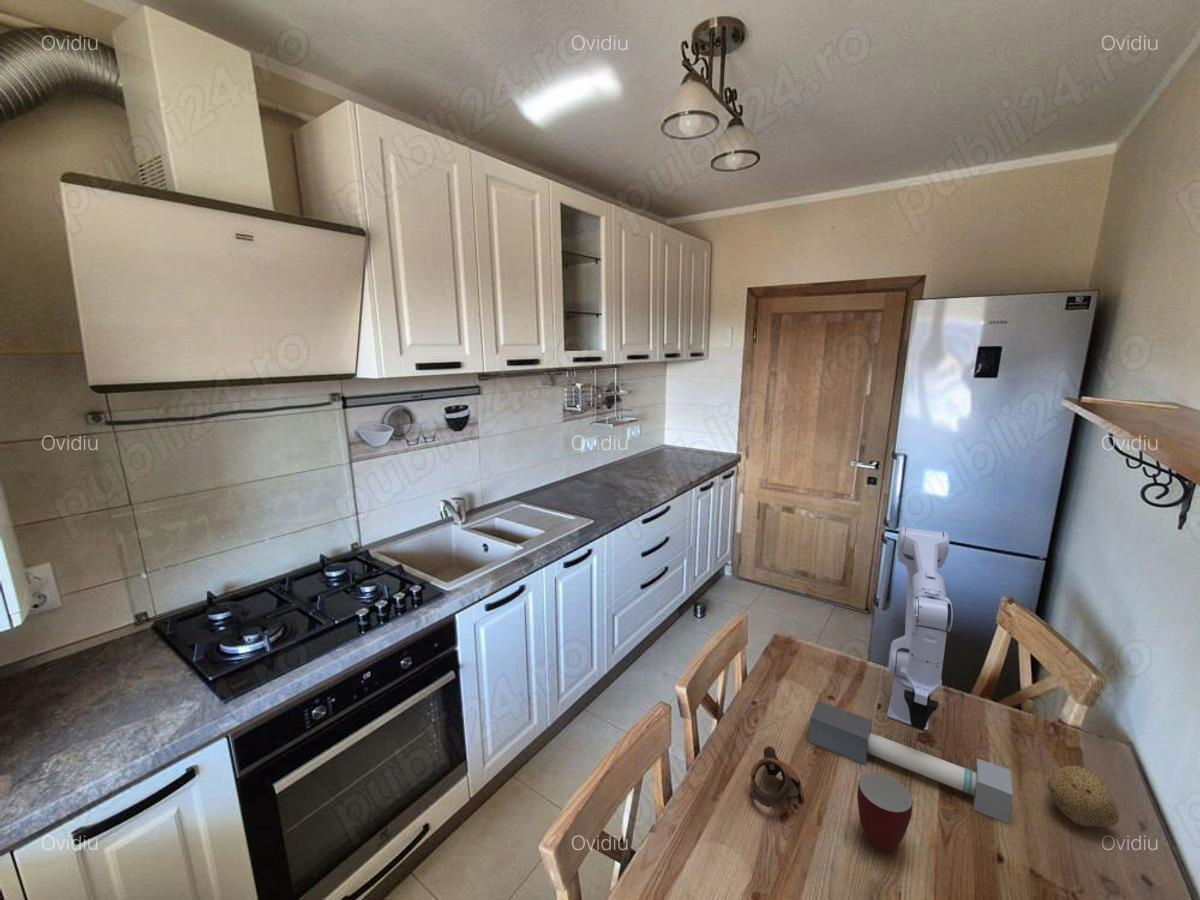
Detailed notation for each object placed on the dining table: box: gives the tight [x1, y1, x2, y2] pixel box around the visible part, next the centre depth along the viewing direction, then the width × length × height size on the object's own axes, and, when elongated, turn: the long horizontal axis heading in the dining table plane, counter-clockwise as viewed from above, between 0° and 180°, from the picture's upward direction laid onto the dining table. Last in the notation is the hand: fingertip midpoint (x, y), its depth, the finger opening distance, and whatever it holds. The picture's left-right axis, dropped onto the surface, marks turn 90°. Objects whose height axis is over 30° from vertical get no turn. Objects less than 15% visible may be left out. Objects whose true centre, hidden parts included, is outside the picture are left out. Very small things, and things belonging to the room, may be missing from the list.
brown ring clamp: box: [749, 745, 805, 809], centre depth 96 cm, size 12×10×8 cm
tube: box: [867, 732, 977, 796], centre depth 100 cm, size 23×4×4 cm, turn 55°
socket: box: [972, 758, 1014, 825], centre depth 93 cm, size 5×7×6 cm
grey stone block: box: [808, 700, 873, 766], centre depth 108 cm, size 11×7×6 cm, turn 54°
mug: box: [856, 772, 914, 853], centre depth 87 cm, size 11×8×10 cm
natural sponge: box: [1047, 765, 1120, 828], centre depth 89 cm, size 9×9×10 cm
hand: (918, 716), depth 102 cm, fingers open, 7 cm apart
